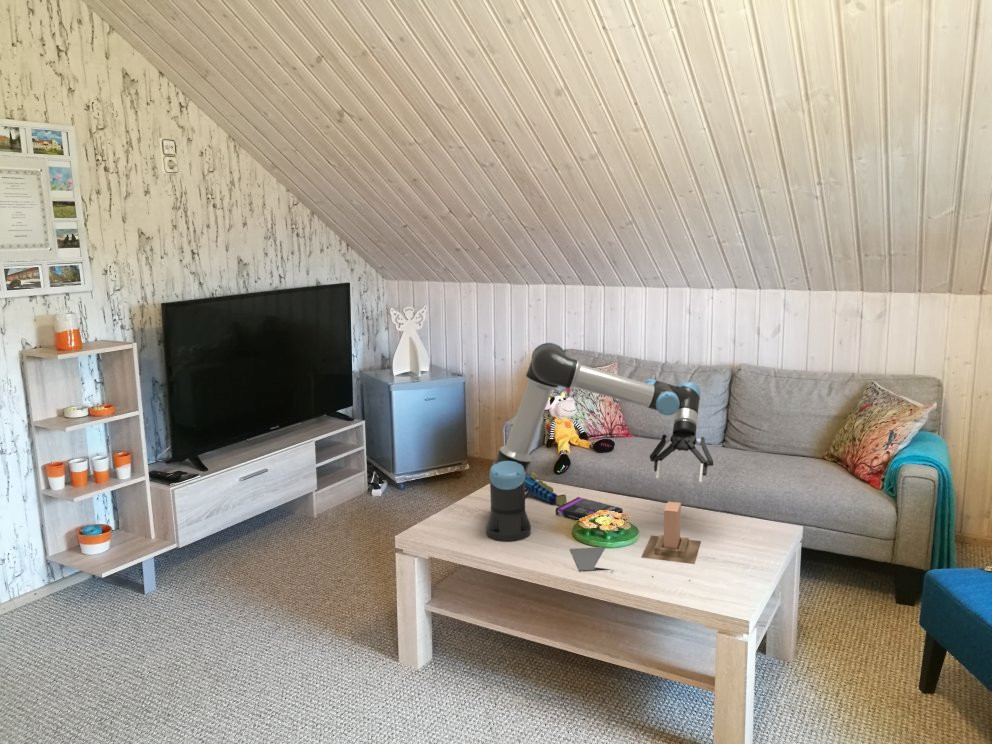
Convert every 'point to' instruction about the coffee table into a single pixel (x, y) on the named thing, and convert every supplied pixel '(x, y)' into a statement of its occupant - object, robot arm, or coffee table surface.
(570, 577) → the coffee table surface
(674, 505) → the brown rectangular block
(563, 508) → the box
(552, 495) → the toy
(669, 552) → the slot holder
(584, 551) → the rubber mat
